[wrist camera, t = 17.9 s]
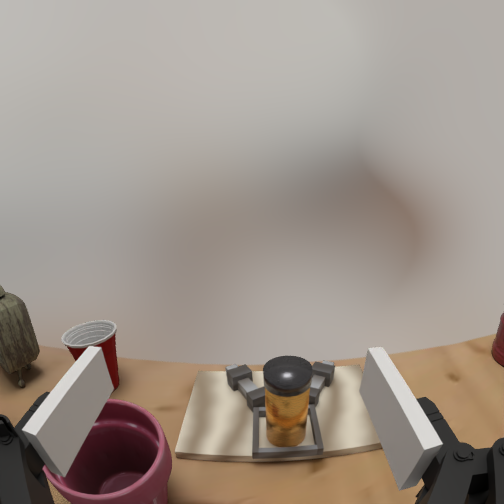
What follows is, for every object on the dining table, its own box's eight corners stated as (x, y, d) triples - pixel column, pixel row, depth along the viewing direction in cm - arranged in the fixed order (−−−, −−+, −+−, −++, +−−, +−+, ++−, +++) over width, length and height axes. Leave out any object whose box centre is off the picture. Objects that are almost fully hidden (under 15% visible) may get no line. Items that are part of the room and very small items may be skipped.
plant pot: (190, 550, 19) (160, 505, 16) (75, 535, 17) (18, 479, 14) (188, 463, 33) (169, 397, 30) (93, 458, 31) (60, 393, 28)
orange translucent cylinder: (265, 450, 34) (263, 385, 31) (264, 421, 39) (262, 356, 37) (309, 446, 34) (316, 381, 31) (304, 419, 39) (308, 354, 36)
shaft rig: (176, 460, 33) (169, 441, 32) (199, 377, 53) (196, 357, 52) (392, 448, 32) (400, 428, 31) (358, 370, 52) (361, 351, 51)
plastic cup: (108, 363, 56) (95, 312, 53) (142, 381, 51) (128, 326, 48) (69, 385, 46) (50, 332, 44) (100, 409, 41) (78, 352, 39)
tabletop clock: (-3, 368, 46) (-35, 264, 40) (24, 354, 54) (-3, 254, 48) (20, 394, 40) (-22, 272, 34) (51, 375, 48) (17, 259, 42)
